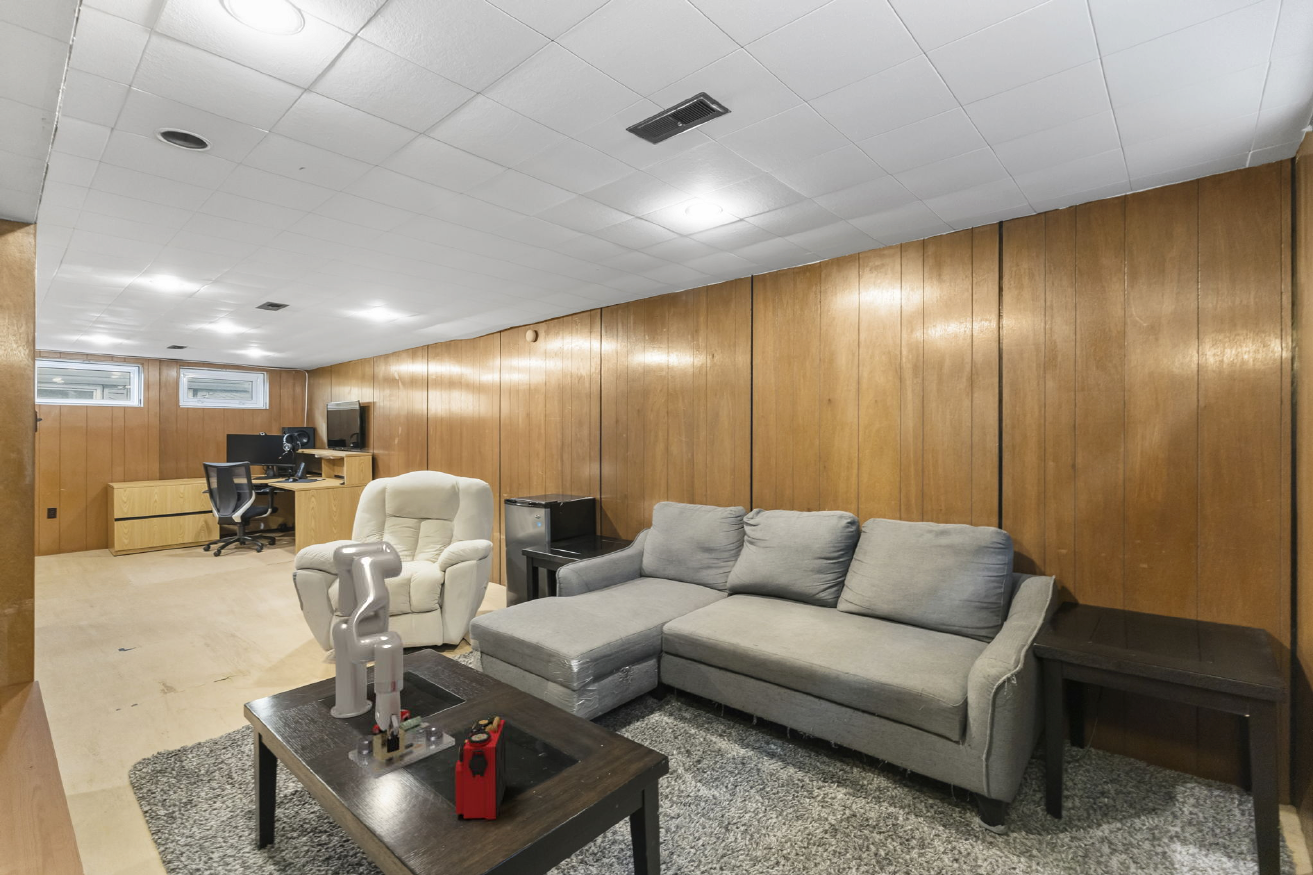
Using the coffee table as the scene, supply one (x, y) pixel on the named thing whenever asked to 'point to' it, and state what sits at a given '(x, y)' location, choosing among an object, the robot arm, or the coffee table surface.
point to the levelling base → (416, 732)
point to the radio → (482, 770)
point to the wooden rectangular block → (381, 745)
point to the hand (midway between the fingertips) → (389, 743)
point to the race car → (404, 717)
